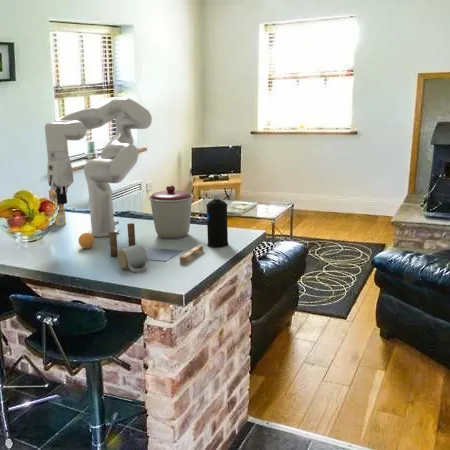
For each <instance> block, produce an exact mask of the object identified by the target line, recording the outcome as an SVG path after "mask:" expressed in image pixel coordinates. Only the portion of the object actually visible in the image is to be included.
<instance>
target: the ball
mask: <svg viewBox="0 0 450 450" xmlns="http://www.w3.org/2000/svg"><path fill="white" fill-rule="evenodd" d="M78 244H79V246H80V247H81V248H82V249H90V248H92V247H93V246H94V244H95V237H93V235H92V234H90V233H88V232H83V233H82V234H81V235H80V236H79V237H78Z"/></svg>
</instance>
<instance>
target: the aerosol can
mask: <svg viewBox="0 0 450 450" xmlns="http://www.w3.org/2000/svg"><path fill="white" fill-rule="evenodd" d="M205 206H206V225H207V227H206V228H207V230H206V231H207V244H206V245H207V247H209V248H214V249H219V248H220V249H221V248H225V247H228V246H229V242H228V241H229V239H228V238H229V237H228V234H229V233H228V203H227V202H226V201H224V200H223V199H220V193H213V199H212V200H210V201H208V202H207V204H205Z"/></svg>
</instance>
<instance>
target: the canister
mask: <svg viewBox="0 0 450 450" xmlns="http://www.w3.org/2000/svg"><path fill="white" fill-rule="evenodd" d="M193 198H194V195H193V194H191V193H190V192H189V191H185V190H176V187H175V186H174V185H173V184H170V185H167V186H166V188H165V190H162V191H155V192H154V193H152V194H151V195H149V197H148V200H149V201H150V207H151V212H152V220H153V224H154V229H155V233H156V234H157V236H158V237H160V238H163V239H169V240H170V239H180V238H183V237H186V236H188V234H189V231H190V225H191V215H192V200H193Z"/></svg>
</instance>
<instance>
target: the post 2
mask: <svg viewBox="0 0 450 450" xmlns="http://www.w3.org/2000/svg"><path fill="white" fill-rule="evenodd" d="M135 229H136V228H135V223H133V222H131V223H130V222H129V223H127V237H128V238H127V239H128V247H130V246H134V245H137V243H136V233H135Z"/></svg>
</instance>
